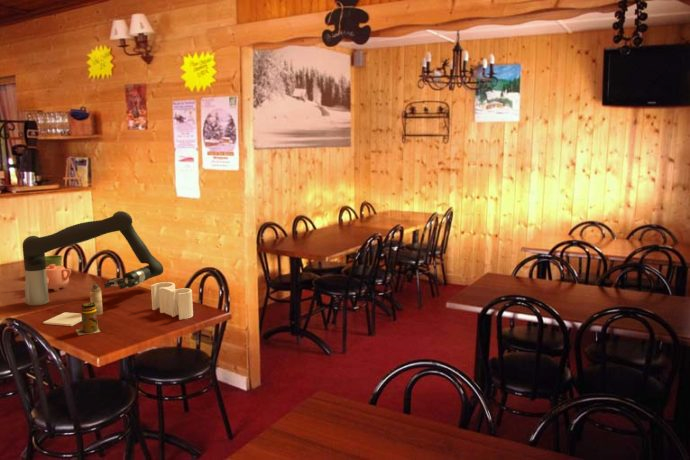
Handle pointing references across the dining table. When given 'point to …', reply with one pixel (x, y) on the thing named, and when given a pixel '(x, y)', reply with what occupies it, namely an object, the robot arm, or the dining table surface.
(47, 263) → the plant pot
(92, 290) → the pepper mill
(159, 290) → the cream triple cylinder
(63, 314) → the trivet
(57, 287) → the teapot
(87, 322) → the condiment
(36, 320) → the dining table surface
